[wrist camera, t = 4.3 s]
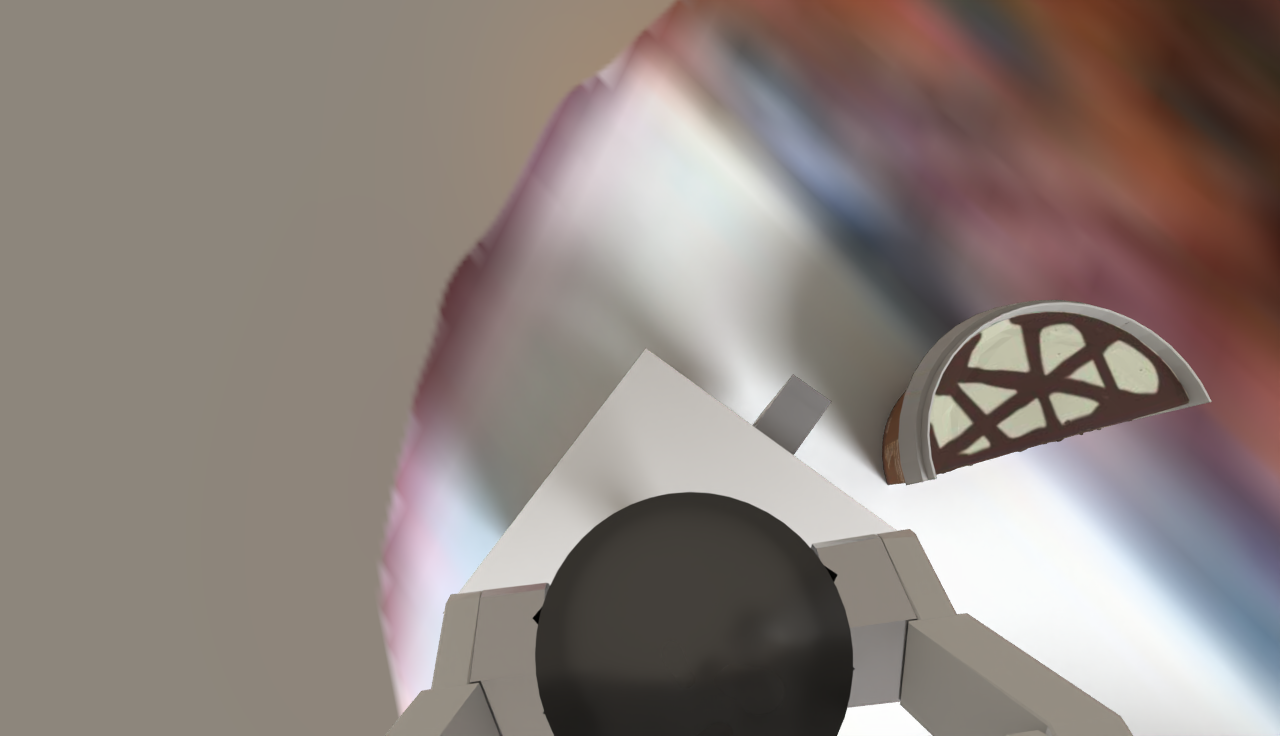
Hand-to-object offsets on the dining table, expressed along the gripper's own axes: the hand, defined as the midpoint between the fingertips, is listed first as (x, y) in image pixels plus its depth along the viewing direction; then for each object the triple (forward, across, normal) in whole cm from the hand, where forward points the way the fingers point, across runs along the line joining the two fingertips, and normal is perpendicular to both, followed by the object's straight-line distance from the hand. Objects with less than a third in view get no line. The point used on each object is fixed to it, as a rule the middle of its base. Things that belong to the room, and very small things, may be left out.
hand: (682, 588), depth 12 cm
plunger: (+13, 0, +13) cm, 18 cm away
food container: (+24, -16, +17) cm, 33 cm away
